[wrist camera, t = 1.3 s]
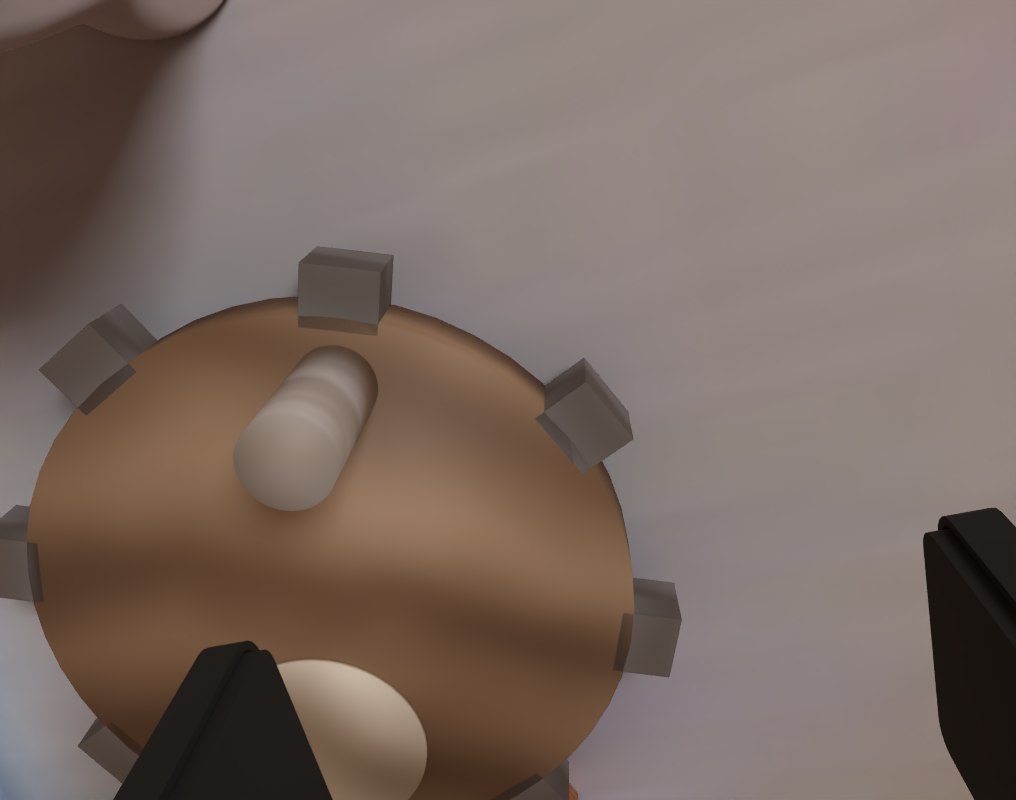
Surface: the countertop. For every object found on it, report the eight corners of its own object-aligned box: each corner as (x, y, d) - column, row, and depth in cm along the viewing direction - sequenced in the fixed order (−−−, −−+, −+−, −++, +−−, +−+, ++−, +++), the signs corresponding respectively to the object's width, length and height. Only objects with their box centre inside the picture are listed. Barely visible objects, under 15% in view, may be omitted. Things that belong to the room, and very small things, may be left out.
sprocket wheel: (618, 849, 34) (632, 1042, 27) (49, 780, 34) (-71, 955, 27) (734, 294, 25) (794, 382, 19) (-21, 207, 26) (-217, 265, 19)
